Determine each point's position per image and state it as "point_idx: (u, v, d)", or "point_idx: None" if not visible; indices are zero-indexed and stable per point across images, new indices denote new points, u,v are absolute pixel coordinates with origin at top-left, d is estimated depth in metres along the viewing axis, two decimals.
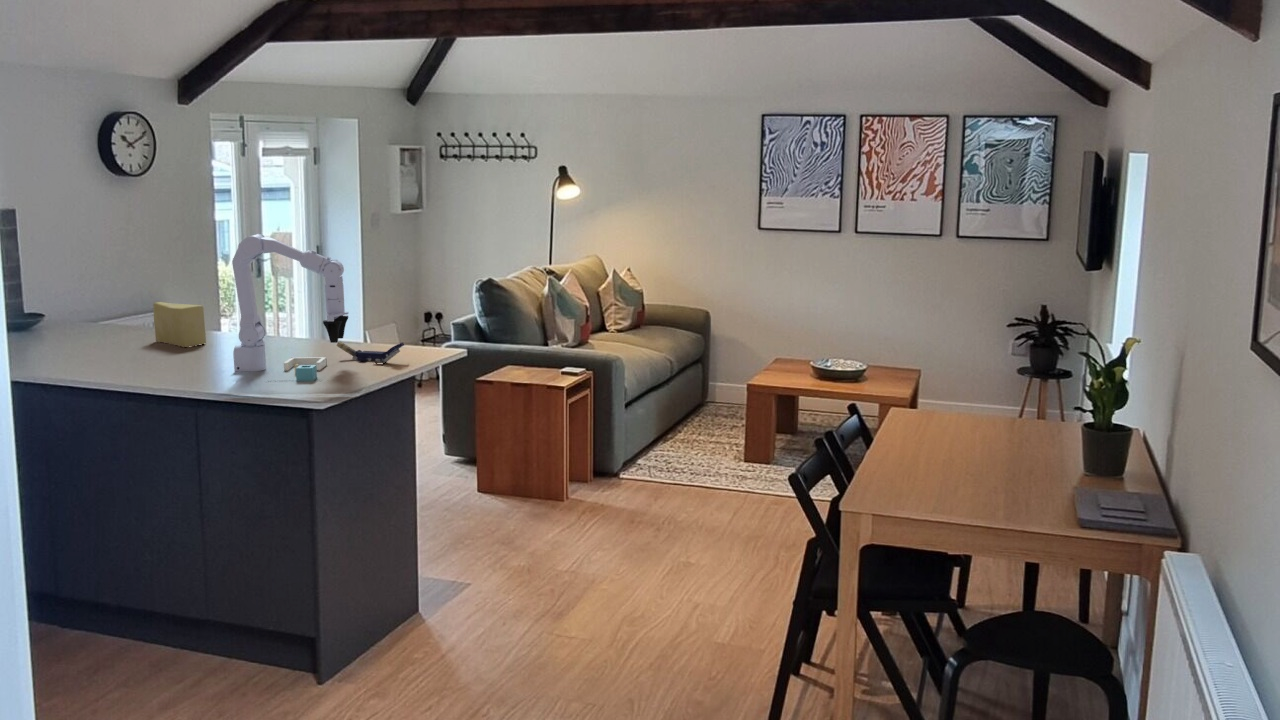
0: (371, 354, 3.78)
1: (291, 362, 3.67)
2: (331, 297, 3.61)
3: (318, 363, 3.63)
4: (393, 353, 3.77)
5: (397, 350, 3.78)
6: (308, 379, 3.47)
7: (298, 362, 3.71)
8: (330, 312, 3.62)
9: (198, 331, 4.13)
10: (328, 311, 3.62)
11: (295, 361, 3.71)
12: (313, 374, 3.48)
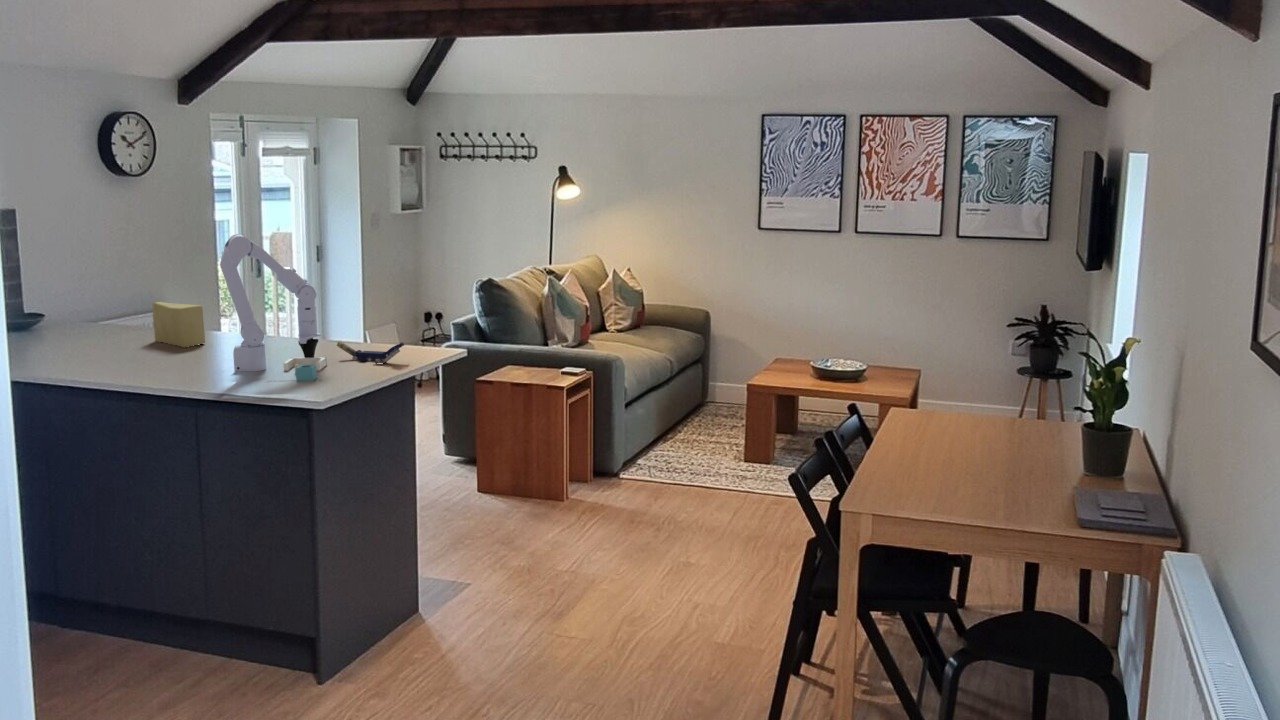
0: (371, 354, 3.78)
1: (291, 362, 3.67)
2: (306, 319, 3.67)
3: (318, 363, 3.63)
4: (393, 353, 3.77)
5: (397, 350, 3.78)
6: (308, 379, 3.47)
7: (298, 362, 3.70)
8: (303, 334, 3.68)
9: (197, 331, 4.13)
10: (301, 333, 3.68)
11: (295, 361, 3.70)
12: (313, 374, 3.48)
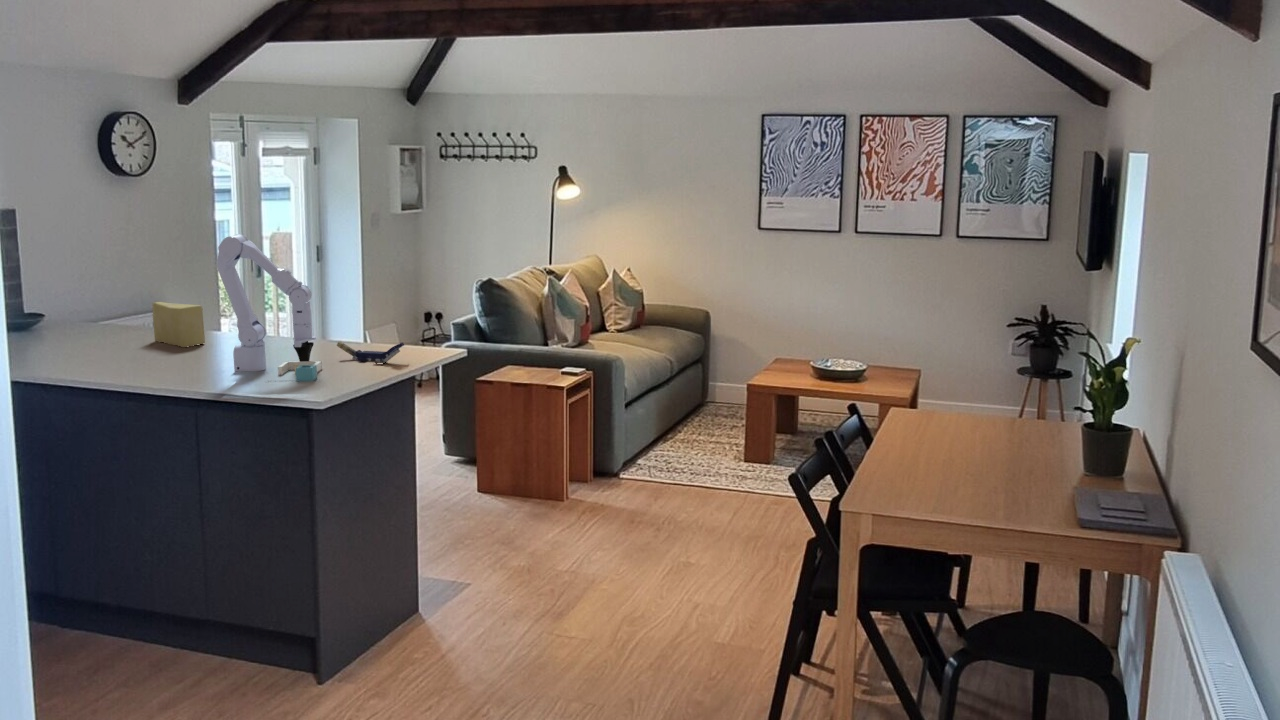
0: (371, 354, 3.78)
1: (285, 366, 3.61)
2: (298, 322, 3.61)
3: None
4: (393, 353, 3.77)
5: (397, 350, 3.78)
6: (308, 379, 3.47)
7: (293, 366, 3.64)
8: (297, 337, 3.62)
9: (197, 331, 4.13)
10: (295, 336, 3.62)
11: (290, 365, 3.64)
12: (313, 374, 3.48)
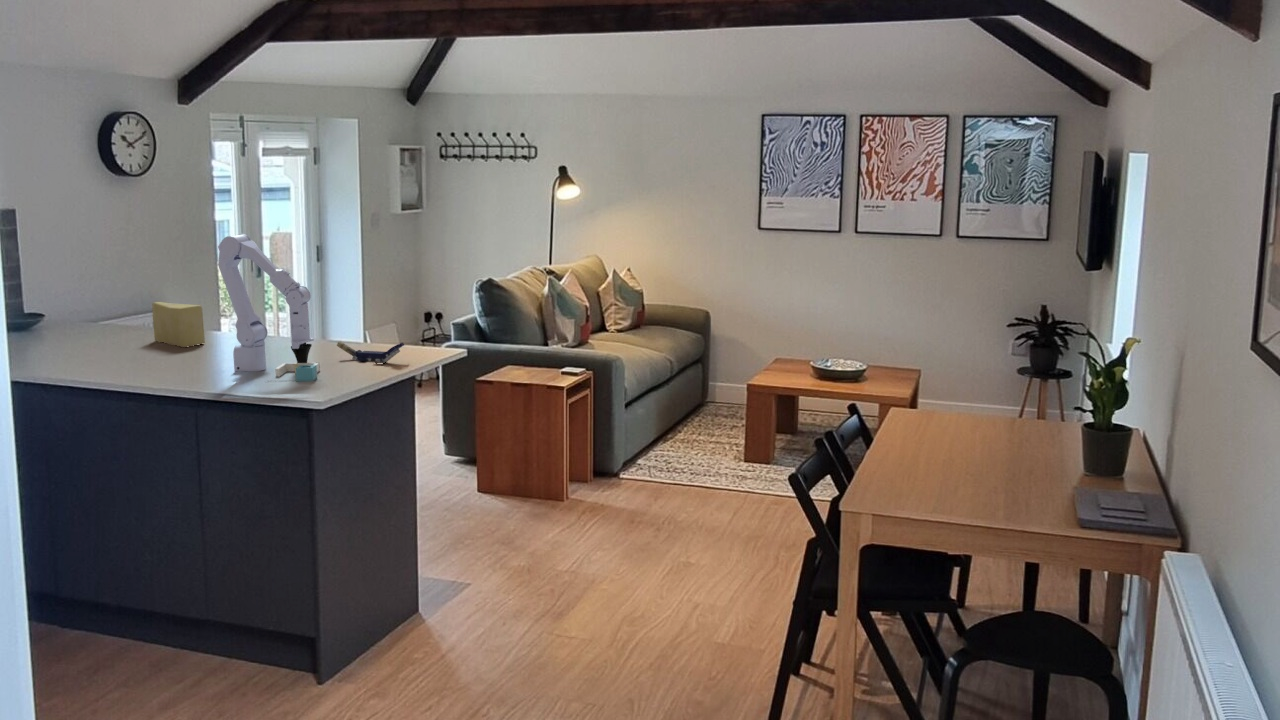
0: (371, 354, 3.78)
1: (283, 368, 3.58)
2: (294, 324, 3.58)
3: None
4: (393, 353, 3.77)
5: (397, 350, 3.78)
6: (308, 379, 3.47)
7: (291, 367, 3.62)
8: (295, 339, 3.59)
9: (196, 331, 4.13)
10: (293, 338, 3.60)
11: (287, 367, 3.61)
12: (313, 374, 3.48)
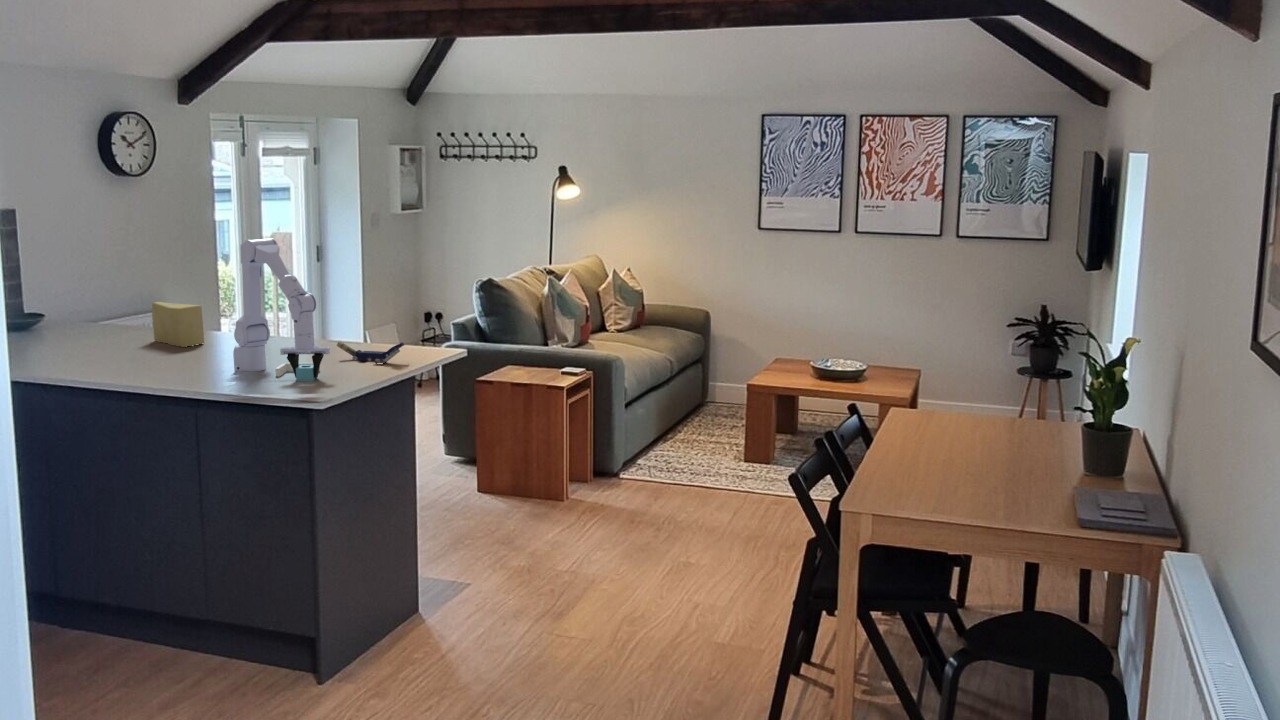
0: (371, 354, 3.78)
1: (283, 368, 3.58)
2: (295, 332, 3.45)
3: None
4: (393, 353, 3.77)
5: (397, 350, 3.78)
6: (308, 379, 3.47)
7: (291, 367, 3.62)
8: None
9: (196, 331, 4.14)
10: None
11: (287, 367, 3.61)
12: (313, 374, 3.48)
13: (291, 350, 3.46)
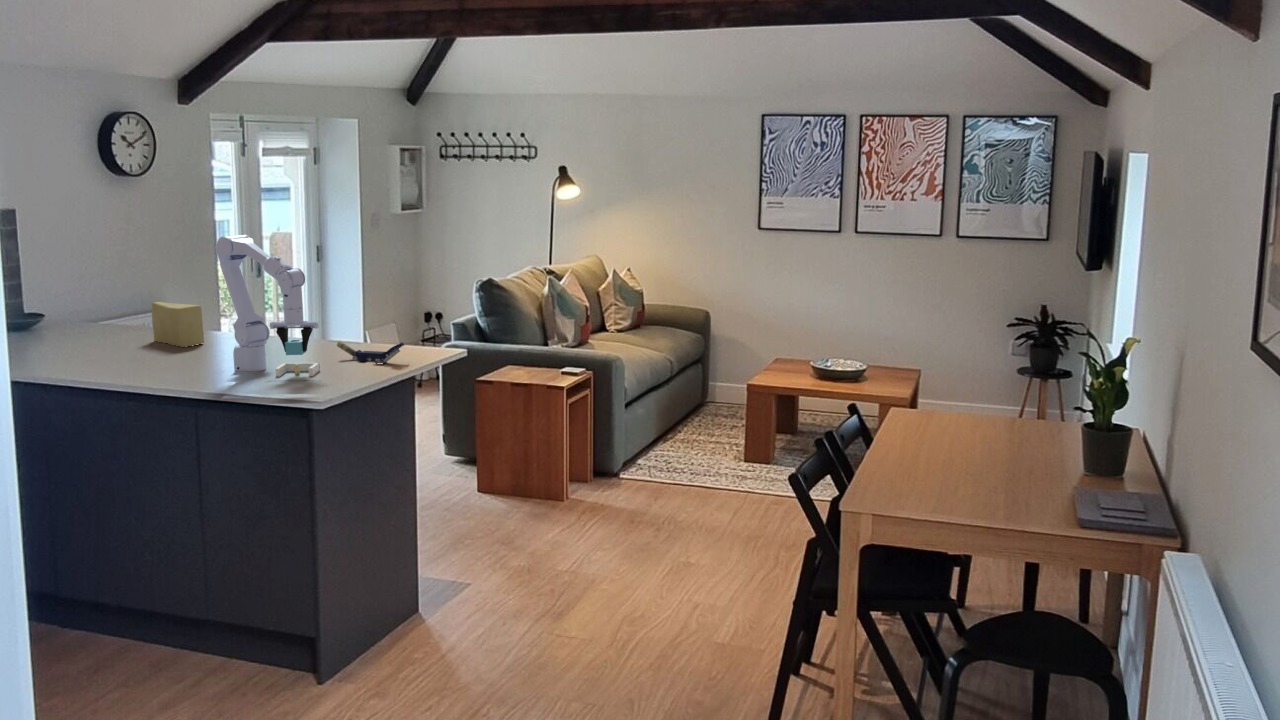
0: (371, 354, 3.78)
1: (283, 368, 3.58)
2: (285, 307, 3.51)
3: (311, 369, 3.54)
4: (393, 353, 3.77)
5: (397, 350, 3.78)
6: (297, 353, 3.54)
7: (291, 367, 3.62)
8: None
9: (196, 331, 4.14)
10: None
11: (287, 367, 3.61)
12: (302, 348, 3.54)
13: (280, 324, 3.52)
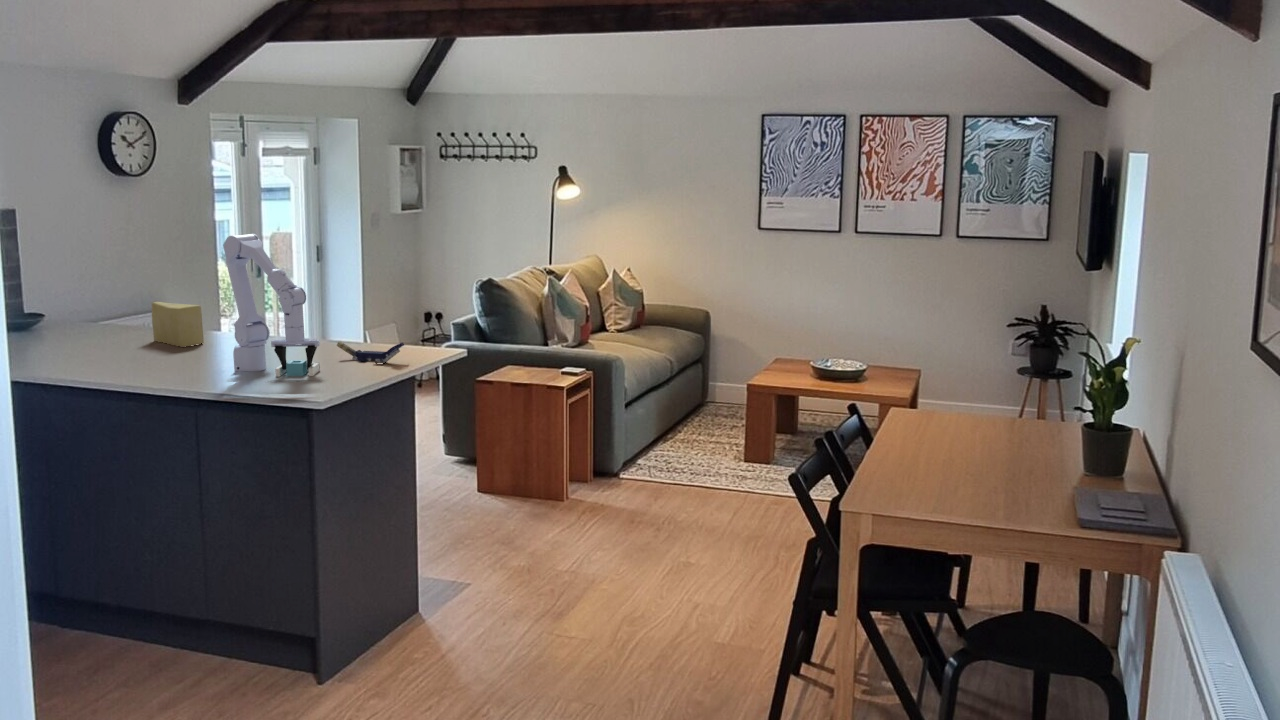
0: (371, 354, 3.78)
1: None
2: (286, 325, 3.52)
3: (311, 369, 3.54)
4: (393, 353, 3.77)
5: (397, 350, 3.78)
6: (298, 374, 3.55)
7: None
8: None
9: (195, 331, 4.14)
10: None
11: None
12: (303, 369, 3.56)
13: (282, 342, 3.54)
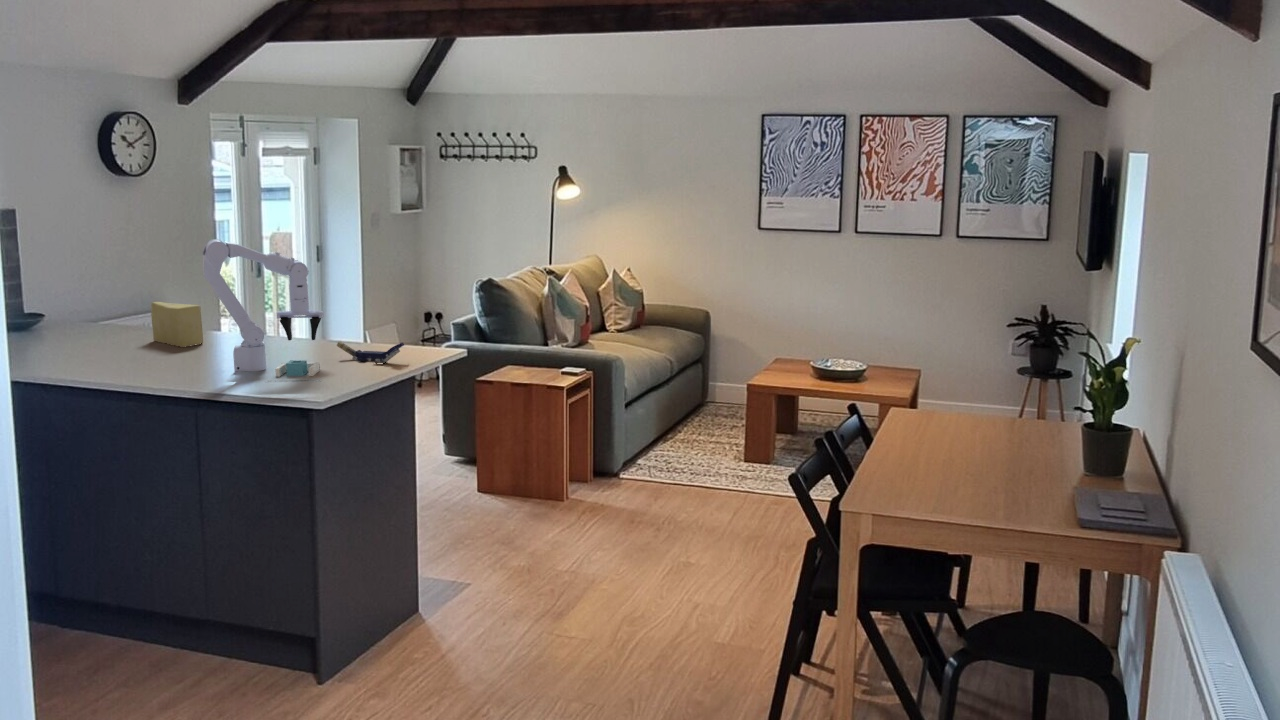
0: (371, 354, 3.78)
1: (283, 368, 3.58)
2: (298, 297, 3.65)
3: (311, 369, 3.54)
4: (393, 353, 3.77)
5: (397, 350, 3.78)
6: (298, 374, 3.55)
7: None
8: None
9: (195, 331, 4.14)
10: None
11: None
12: (303, 369, 3.56)
13: (287, 314, 3.67)
